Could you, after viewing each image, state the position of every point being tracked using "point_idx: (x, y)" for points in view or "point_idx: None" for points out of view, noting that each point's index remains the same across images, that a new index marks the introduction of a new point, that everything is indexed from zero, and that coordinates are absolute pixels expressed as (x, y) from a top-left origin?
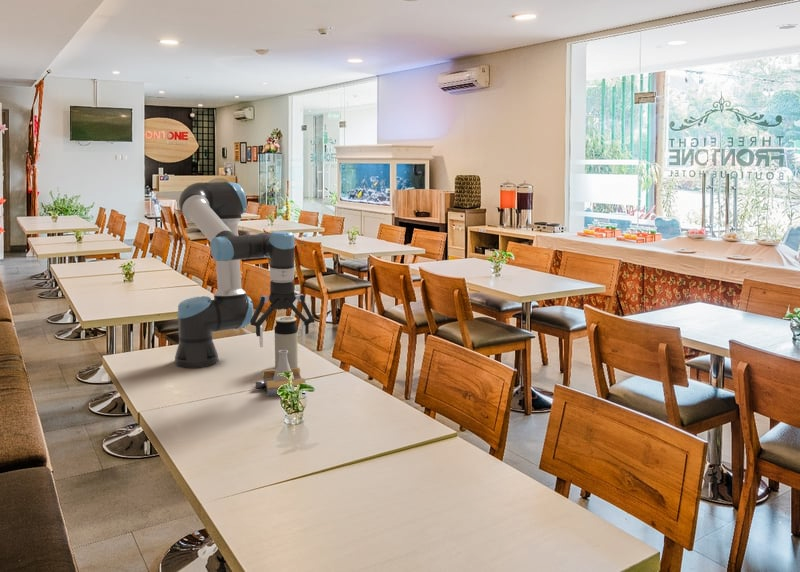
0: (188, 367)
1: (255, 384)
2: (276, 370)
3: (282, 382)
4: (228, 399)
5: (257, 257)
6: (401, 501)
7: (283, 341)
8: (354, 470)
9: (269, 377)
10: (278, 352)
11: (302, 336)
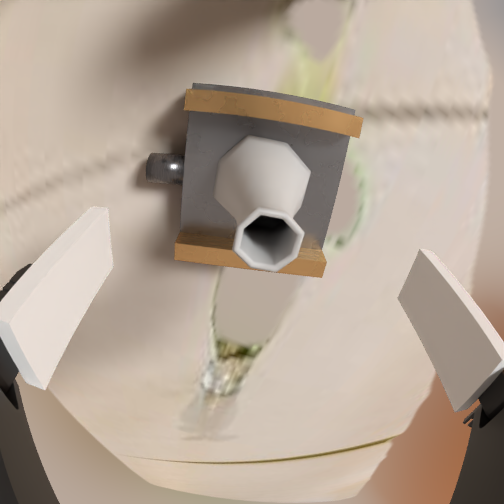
0: None
1: (150, 156)
2: (226, 199)
3: (234, 264)
4: (74, 220)
5: None
6: (267, 485)
7: None
8: (253, 467)
9: (214, 119)
10: (233, 243)
11: (429, 314)
